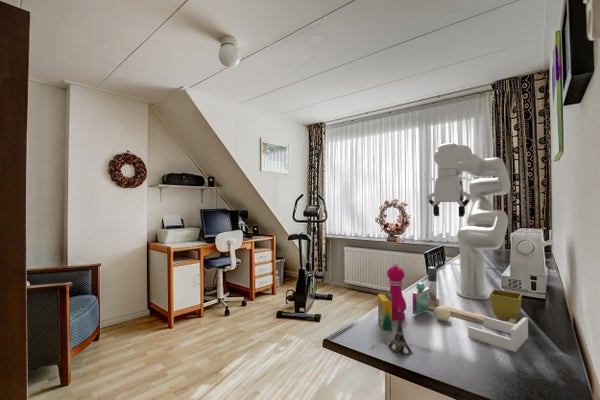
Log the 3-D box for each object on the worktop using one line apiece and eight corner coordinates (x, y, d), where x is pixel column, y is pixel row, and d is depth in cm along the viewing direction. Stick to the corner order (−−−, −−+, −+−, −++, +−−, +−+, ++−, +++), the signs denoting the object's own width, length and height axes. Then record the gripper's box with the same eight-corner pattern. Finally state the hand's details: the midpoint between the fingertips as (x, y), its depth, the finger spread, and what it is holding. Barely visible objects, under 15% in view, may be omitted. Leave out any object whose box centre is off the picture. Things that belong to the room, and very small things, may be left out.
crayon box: (377, 322, 100) (377, 288, 100) (386, 322, 100) (386, 289, 100) (383, 331, 93) (382, 295, 93) (392, 331, 93) (392, 295, 93)
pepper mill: (408, 322, 100) (407, 265, 100) (386, 320, 101) (386, 264, 102) (404, 314, 107) (404, 261, 107) (384, 313, 108) (384, 260, 109)
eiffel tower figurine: (432, 351, 81) (432, 304, 81) (425, 368, 72) (425, 315, 73) (380, 338, 89) (380, 295, 89) (369, 351, 81) (368, 304, 81)
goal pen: (484, 324, 98) (484, 307, 98) (528, 337, 88) (527, 317, 88) (468, 336, 89) (467, 317, 89) (515, 351, 79) (514, 330, 80)
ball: (438, 316, 105) (438, 302, 105) (452, 320, 101) (452, 306, 101) (432, 319, 102) (431, 305, 102) (446, 324, 98) (446, 309, 98)
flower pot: (489, 318, 103) (489, 293, 103) (493, 312, 109) (493, 288, 110) (519, 325, 97) (519, 299, 97) (522, 318, 103) (522, 293, 104)
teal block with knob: (429, 303, 116) (429, 266, 117) (439, 306, 113) (439, 267, 114) (409, 312, 106) (409, 271, 107) (419, 316, 103) (419, 273, 104)
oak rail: (423, 303, 119) (422, 296, 119) (516, 329, 94) (516, 320, 94) (418, 305, 116) (418, 298, 116) (513, 332, 92) (512, 323, 92)
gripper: (475, 173, 112) (475, 216, 111) (431, 176, 125) (431, 215, 125) (467, 171, 107) (468, 217, 106) (423, 175, 120) (423, 216, 120)
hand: (448, 216), depth 115 cm, fingers open, 9 cm apart
